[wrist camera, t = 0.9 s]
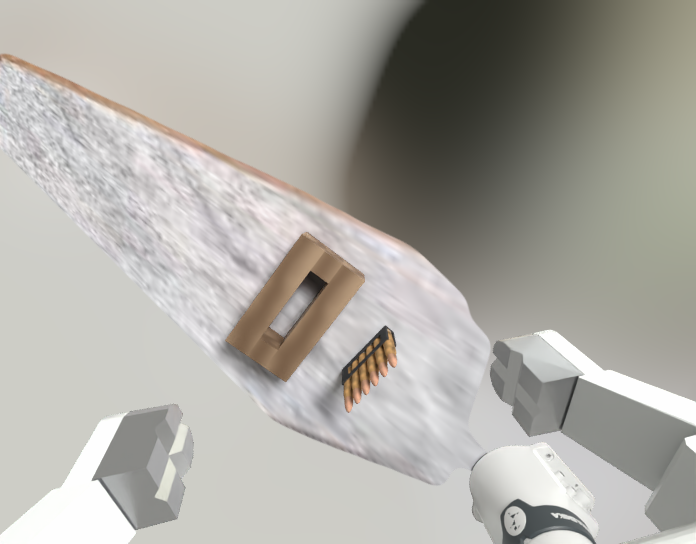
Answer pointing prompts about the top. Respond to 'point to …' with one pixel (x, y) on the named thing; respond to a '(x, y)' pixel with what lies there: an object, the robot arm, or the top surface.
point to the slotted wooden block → (316, 319)
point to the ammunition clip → (368, 366)
